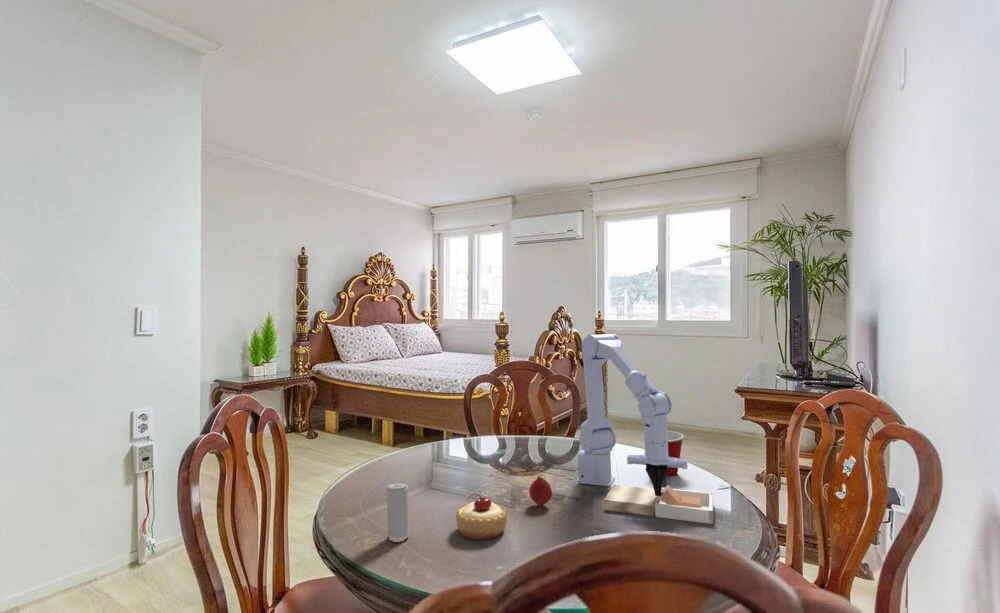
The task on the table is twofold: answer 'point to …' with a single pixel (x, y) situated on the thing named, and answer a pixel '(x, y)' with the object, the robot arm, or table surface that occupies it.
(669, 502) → the tile
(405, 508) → the beverage can
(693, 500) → the tile
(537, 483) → the onion
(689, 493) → the tray
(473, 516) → the pastry
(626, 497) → the board
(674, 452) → the plastic cup
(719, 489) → the table surface
